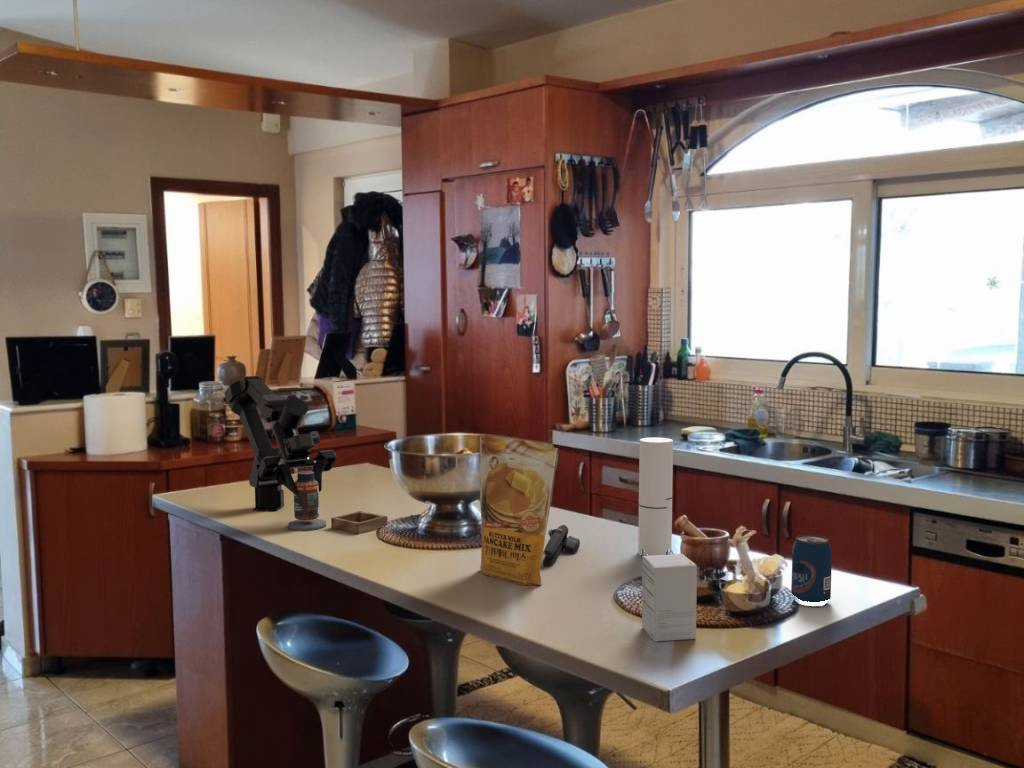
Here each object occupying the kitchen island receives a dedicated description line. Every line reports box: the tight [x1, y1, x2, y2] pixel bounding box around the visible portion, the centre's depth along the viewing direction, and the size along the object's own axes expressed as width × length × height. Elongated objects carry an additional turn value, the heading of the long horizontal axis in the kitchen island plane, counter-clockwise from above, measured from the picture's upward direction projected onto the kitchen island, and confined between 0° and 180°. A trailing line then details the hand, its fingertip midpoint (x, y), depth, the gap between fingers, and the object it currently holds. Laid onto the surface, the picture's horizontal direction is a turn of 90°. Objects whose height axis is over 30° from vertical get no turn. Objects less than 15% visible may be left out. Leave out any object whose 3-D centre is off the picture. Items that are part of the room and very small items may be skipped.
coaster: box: [287, 518, 327, 532], centre depth 239 cm, size 9×9×1 cm
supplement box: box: [641, 553, 698, 643], centre depth 164 cm, size 7×7×13 cm
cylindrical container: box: [637, 437, 674, 556], centre depth 213 cm, size 7×7×25 cm
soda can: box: [790, 534, 833, 602], centre depth 180 cm, size 7×7×12 cm
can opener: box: [541, 524, 581, 567], centre depth 212 cm, size 18×7×6 cm, turn 162°
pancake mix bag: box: [478, 434, 560, 586], centre depth 196 cm, size 7×19×28 cm, turn 48°
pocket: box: [330, 510, 389, 535], centre depth 238 cm, size 10×10×2 cm
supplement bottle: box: [293, 470, 320, 520], centre depth 238 cm, size 6×6×11 cm
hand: (308, 492), depth 237 cm, fingers closed on supplement bottle, 6 cm apart
